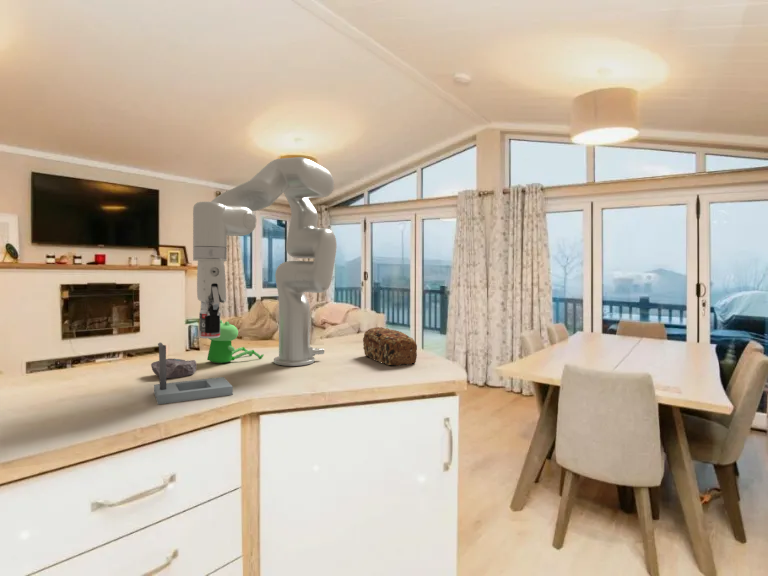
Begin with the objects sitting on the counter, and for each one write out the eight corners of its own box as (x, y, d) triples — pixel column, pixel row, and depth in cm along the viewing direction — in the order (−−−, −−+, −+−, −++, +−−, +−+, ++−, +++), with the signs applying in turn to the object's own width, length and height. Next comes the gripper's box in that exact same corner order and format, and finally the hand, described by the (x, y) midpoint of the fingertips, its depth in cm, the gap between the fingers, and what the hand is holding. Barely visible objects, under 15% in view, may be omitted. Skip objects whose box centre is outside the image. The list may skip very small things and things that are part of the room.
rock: (202, 375, 129) (201, 358, 129) (157, 382, 122) (157, 364, 122) (192, 370, 135) (191, 354, 135) (149, 376, 128) (149, 359, 128)
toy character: (265, 362, 151) (268, 322, 151) (211, 366, 138) (214, 322, 138) (250, 357, 158) (253, 319, 158) (197, 360, 145) (200, 319, 145)
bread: (362, 356, 158) (362, 327, 157) (389, 353, 163) (390, 325, 162) (388, 367, 142) (389, 335, 141) (418, 364, 147) (419, 333, 146)
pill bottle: (199, 339, 109) (200, 303, 108) (198, 336, 113) (198, 301, 113) (221, 338, 111) (221, 302, 110) (219, 335, 115) (219, 301, 115)
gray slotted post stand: (223, 384, 120) (222, 337, 119) (232, 394, 111) (232, 344, 110) (153, 392, 112) (153, 342, 111) (158, 404, 103) (157, 350, 102)
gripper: (235, 255, 106) (235, 335, 107) (218, 255, 120) (217, 326, 121) (200, 253, 102) (200, 337, 103) (186, 254, 116) (186, 327, 117)
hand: (209, 330), depth 112 cm, fingers closed on pill bottle, 4 cm apart
